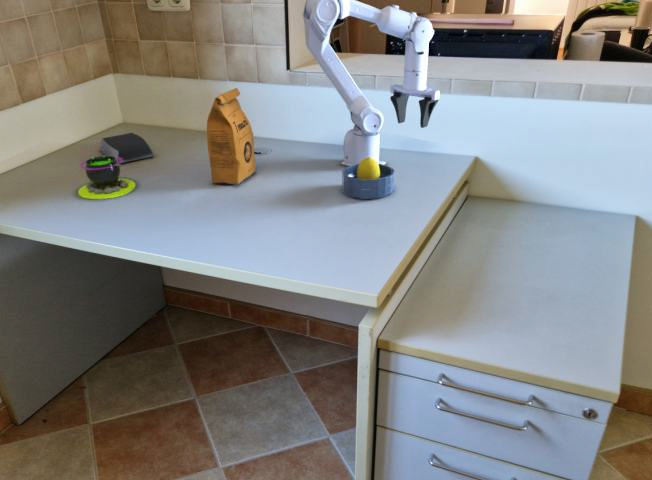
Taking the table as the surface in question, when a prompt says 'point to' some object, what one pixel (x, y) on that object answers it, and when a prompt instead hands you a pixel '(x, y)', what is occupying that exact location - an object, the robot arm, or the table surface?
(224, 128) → the coffee package
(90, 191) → the toy cauldron
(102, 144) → the hard drive
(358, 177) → the lemon
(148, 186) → the table surface
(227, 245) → the table surface
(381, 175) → the bowl
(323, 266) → the table surface
